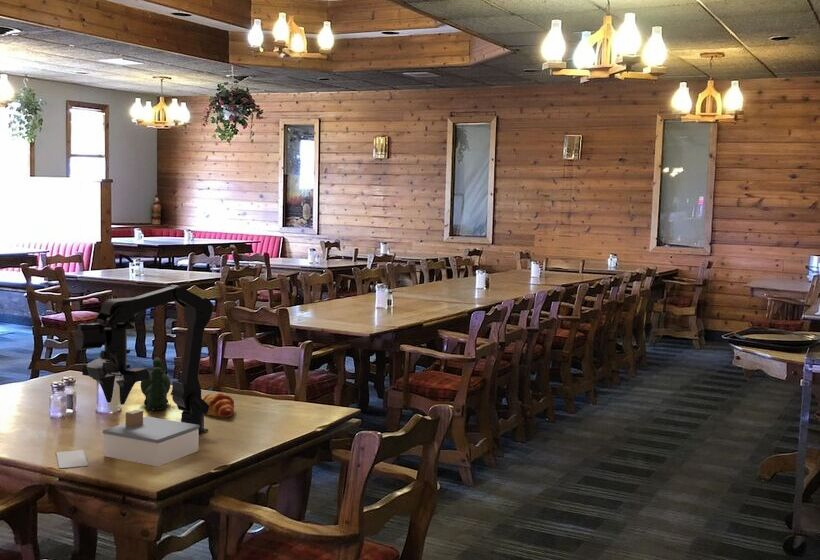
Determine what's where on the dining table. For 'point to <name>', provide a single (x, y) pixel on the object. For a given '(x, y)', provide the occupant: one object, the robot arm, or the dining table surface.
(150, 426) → the lid
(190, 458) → the dining table surface
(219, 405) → the croissant
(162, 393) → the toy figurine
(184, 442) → the lidded box
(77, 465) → the smartphone
